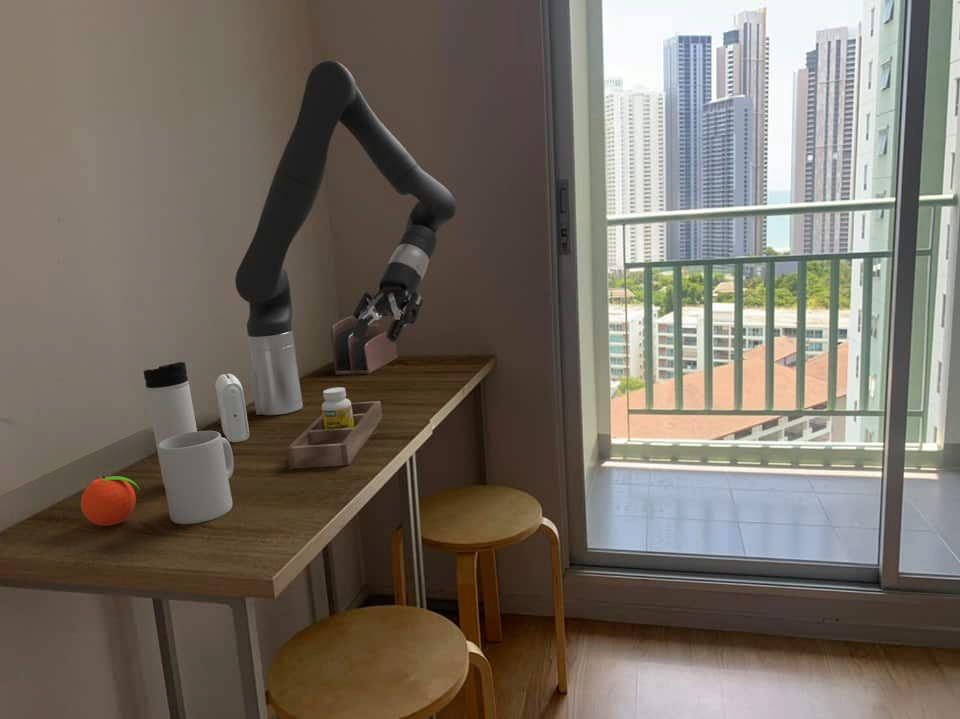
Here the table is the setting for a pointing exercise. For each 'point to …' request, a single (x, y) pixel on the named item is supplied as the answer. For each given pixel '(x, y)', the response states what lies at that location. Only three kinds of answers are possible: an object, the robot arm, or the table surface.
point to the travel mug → (169, 402)
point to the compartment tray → (334, 439)
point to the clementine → (108, 500)
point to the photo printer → (232, 408)
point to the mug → (197, 476)
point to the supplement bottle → (337, 409)
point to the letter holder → (360, 348)
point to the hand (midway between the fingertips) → (373, 339)
